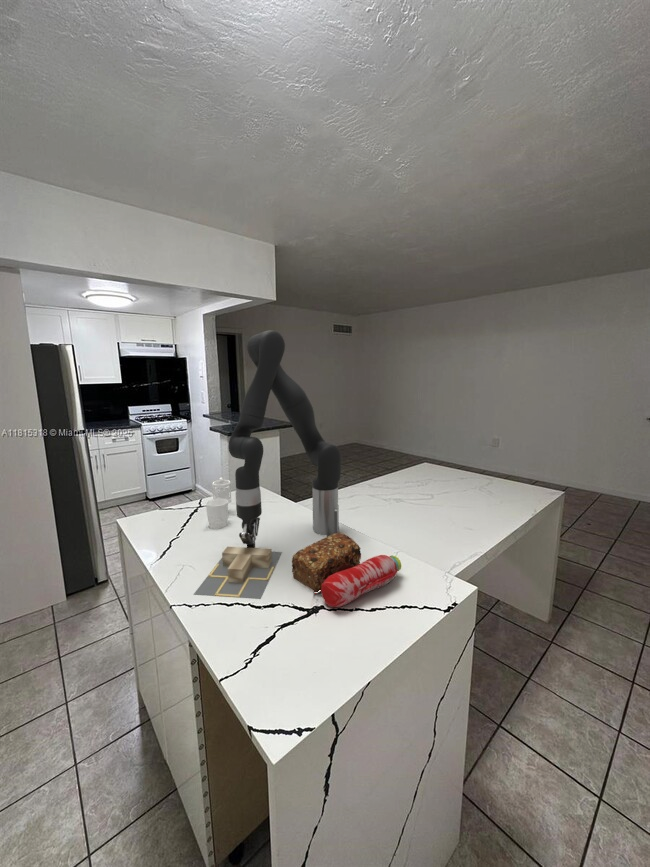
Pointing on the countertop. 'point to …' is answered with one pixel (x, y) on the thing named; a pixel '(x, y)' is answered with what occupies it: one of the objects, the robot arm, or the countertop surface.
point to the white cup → (217, 513)
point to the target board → (249, 588)
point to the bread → (324, 559)
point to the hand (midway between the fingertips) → (251, 552)
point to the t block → (244, 561)
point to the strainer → (222, 490)
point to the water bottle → (359, 579)
